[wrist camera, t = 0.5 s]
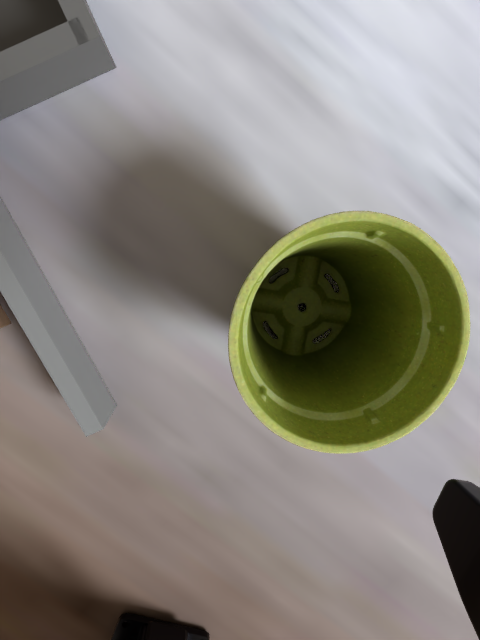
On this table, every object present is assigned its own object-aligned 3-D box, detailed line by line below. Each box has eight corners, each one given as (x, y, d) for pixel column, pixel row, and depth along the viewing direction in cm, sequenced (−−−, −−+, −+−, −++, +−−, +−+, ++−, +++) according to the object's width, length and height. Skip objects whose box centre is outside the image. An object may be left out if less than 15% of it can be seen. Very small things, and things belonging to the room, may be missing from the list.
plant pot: (187, 294, 22) (175, 325, 14) (315, 189, 21) (385, 154, 13) (284, 407, 24) (326, 496, 15) (403, 314, 23) (514, 354, 15)
